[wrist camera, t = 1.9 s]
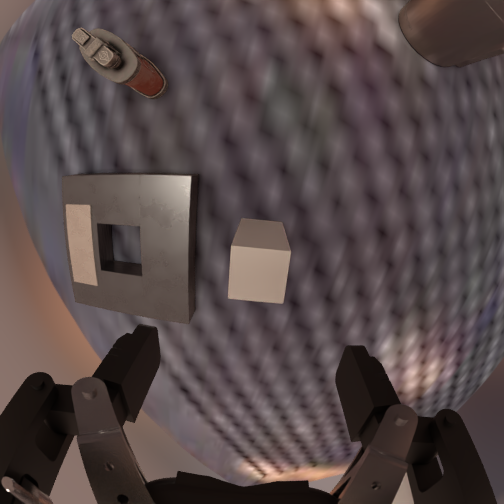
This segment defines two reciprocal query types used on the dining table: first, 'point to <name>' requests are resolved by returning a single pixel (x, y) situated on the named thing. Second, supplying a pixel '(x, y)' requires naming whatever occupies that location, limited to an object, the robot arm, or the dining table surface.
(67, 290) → the dining table surface
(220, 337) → the dining table surface
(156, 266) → the slot holder
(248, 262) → the peg
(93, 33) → the lighter
